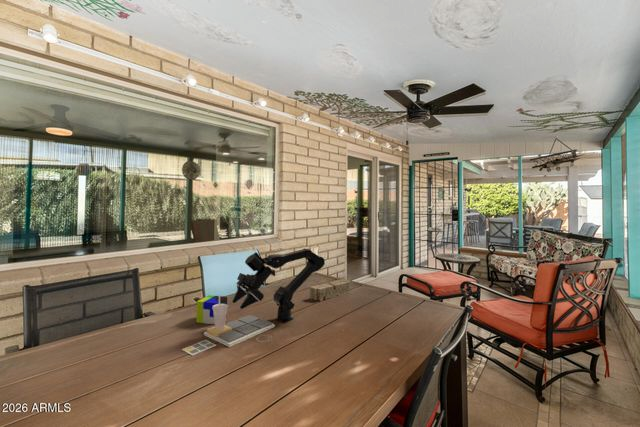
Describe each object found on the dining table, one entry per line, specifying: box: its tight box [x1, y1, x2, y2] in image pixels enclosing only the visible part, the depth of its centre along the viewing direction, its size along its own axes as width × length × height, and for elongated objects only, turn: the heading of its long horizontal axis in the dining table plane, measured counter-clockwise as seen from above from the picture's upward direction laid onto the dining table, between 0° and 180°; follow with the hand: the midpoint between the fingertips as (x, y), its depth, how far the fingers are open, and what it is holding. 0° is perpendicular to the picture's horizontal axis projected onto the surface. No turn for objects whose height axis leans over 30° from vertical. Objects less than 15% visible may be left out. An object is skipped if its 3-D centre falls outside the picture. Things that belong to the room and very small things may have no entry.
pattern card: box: [181, 339, 217, 357], centre depth 114 cm, size 10×7×1 cm
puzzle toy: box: [196, 294, 228, 325], centre depth 142 cm, size 10×10×10 cm
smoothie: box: [212, 295, 229, 330], centre depth 126 cm, size 6×6×14 cm
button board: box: [203, 314, 276, 348], centre depth 130 cm, size 25×17×2 cm
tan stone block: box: [309, 279, 352, 302], centre depth 186 cm, size 8×8×29 cm
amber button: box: [206, 325, 232, 338], centre depth 126 cm, size 7×7×2 cm
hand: (236, 305), depth 130 cm, fingers open, 9 cm apart
